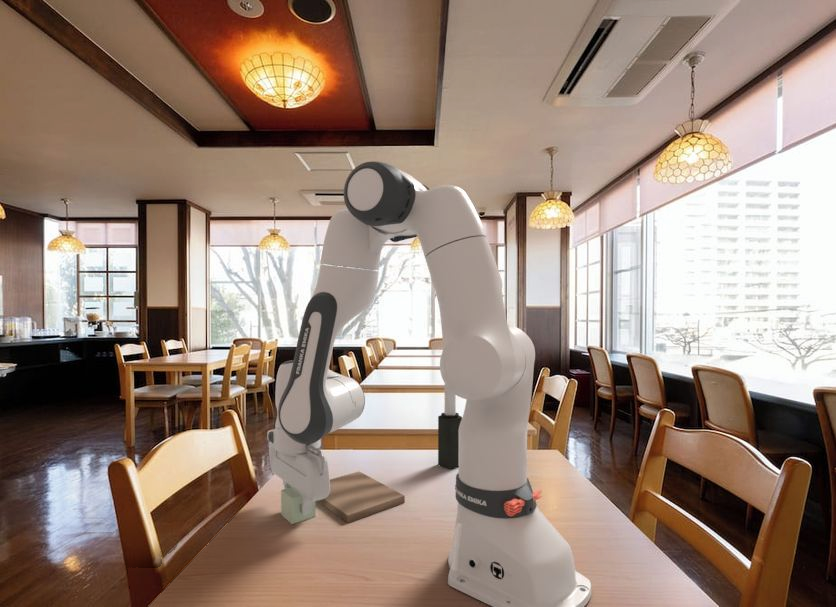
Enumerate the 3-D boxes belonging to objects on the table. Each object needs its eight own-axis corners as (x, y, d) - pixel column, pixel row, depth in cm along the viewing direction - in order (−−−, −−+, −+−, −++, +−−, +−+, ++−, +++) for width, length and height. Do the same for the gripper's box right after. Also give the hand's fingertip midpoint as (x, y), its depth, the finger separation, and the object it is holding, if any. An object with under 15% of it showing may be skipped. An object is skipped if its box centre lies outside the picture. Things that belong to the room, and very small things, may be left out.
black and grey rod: (450, 460, 123) (450, 367, 123) (463, 465, 119) (463, 370, 119) (436, 464, 120) (436, 369, 120) (449, 470, 116) (449, 372, 116)
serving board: (404, 502, 97) (404, 495, 97) (347, 523, 88) (347, 515, 88) (359, 477, 111) (359, 471, 111) (305, 492, 102) (305, 486, 102)
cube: (315, 516, 91) (315, 491, 91) (291, 524, 88) (291, 498, 88) (304, 507, 95) (304, 483, 95) (281, 514, 91) (281, 490, 91)
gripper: (338, 448, 85) (338, 521, 85) (291, 425, 101) (291, 487, 101) (307, 455, 81) (307, 532, 81) (263, 430, 97) (263, 495, 97)
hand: (298, 507), depth 91 cm, fingers closed on cube, 5 cm apart
